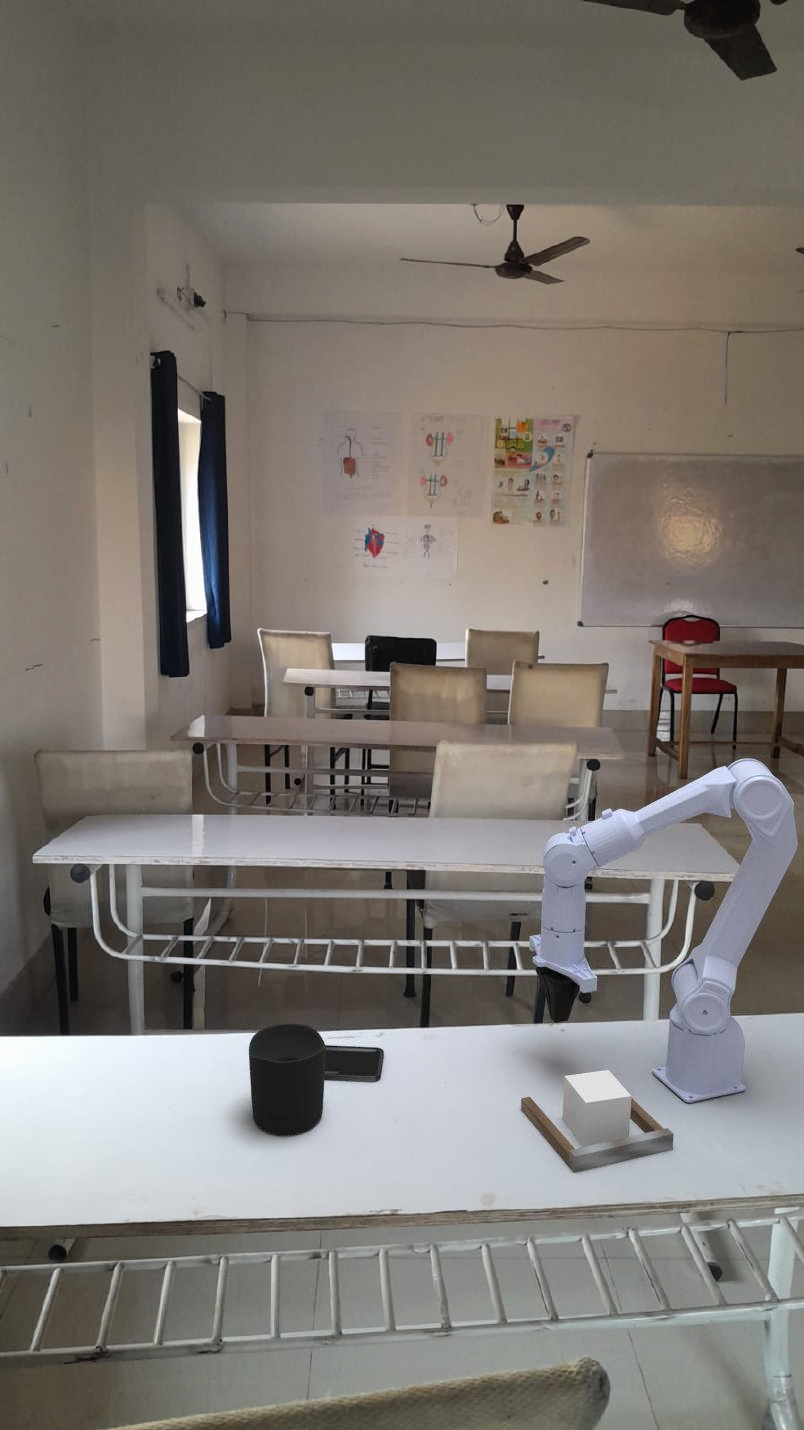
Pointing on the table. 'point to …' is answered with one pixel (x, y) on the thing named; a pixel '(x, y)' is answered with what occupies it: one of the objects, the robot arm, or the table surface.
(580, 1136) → the white cube
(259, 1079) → the pen holder
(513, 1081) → the table surface
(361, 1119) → the table surface
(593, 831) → the robot arm
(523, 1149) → the table surface
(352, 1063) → the phone
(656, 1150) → the u-shaped frame
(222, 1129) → the table surface
